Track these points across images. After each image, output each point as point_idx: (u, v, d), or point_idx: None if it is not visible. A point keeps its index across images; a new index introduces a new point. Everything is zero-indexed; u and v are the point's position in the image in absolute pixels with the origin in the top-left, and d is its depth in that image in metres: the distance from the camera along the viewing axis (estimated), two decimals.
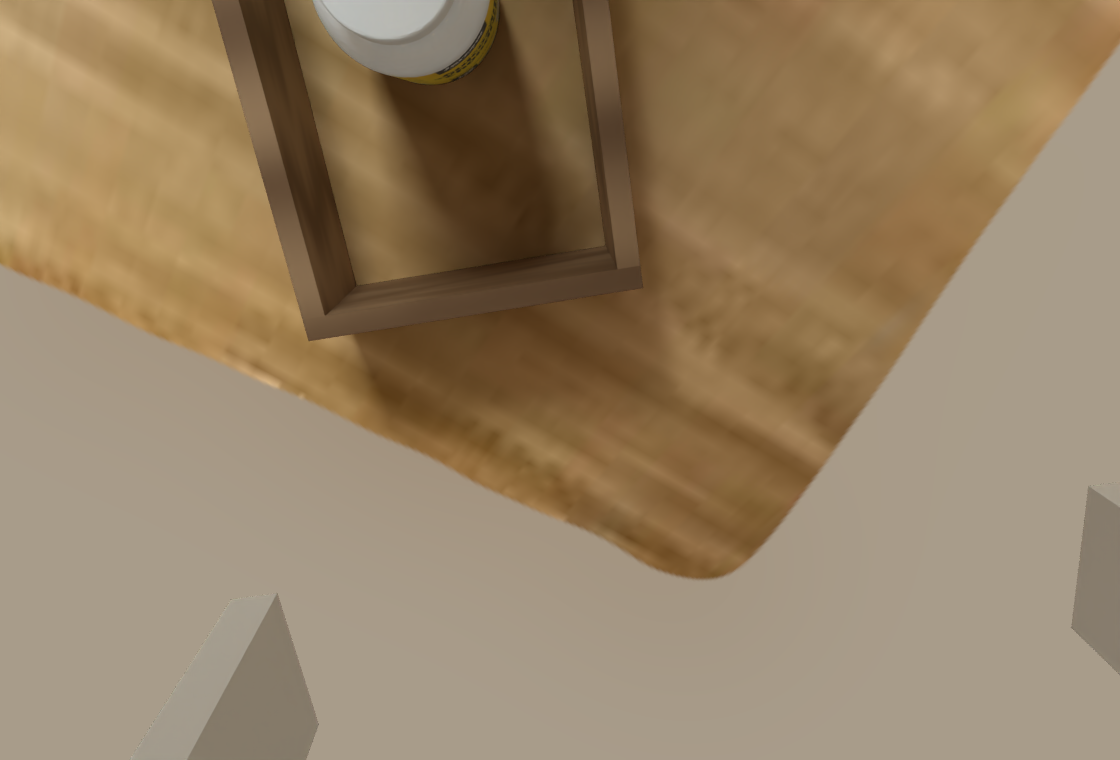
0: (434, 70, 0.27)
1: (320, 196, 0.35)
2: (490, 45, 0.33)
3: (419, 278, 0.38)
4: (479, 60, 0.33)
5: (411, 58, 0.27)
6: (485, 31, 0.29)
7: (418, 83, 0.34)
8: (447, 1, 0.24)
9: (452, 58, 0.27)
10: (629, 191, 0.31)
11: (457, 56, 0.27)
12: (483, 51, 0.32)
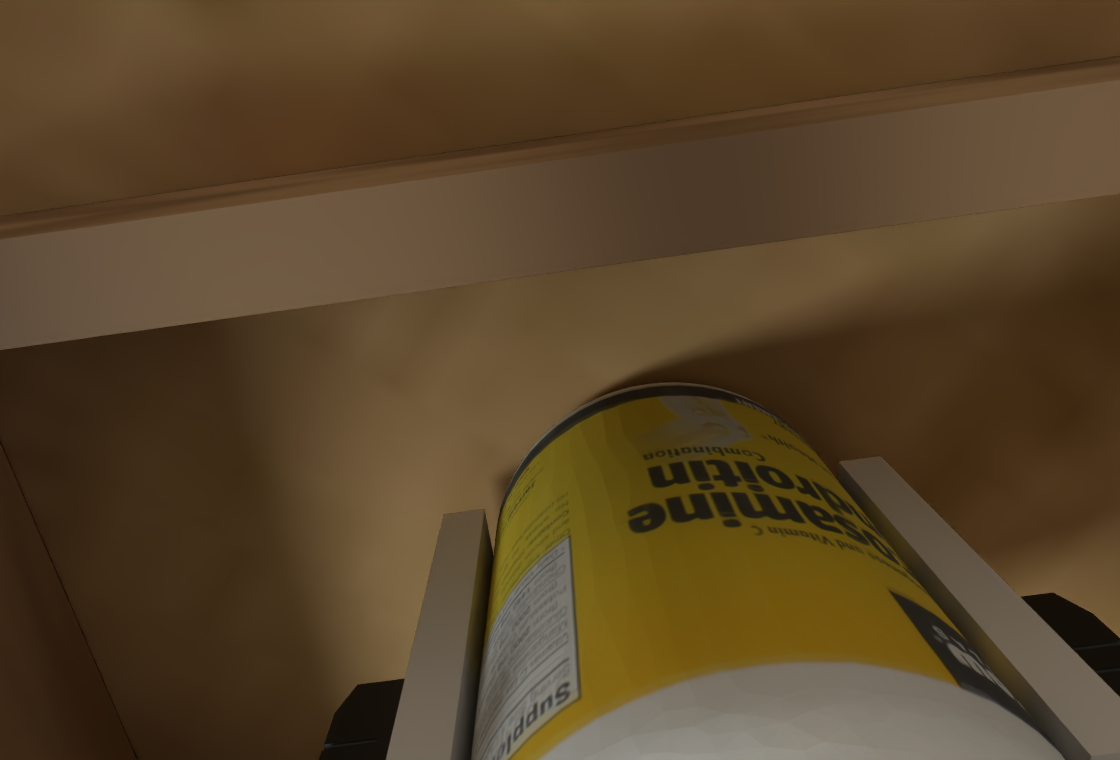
0: None
1: None
2: (777, 422, 0.13)
3: None
4: (820, 460, 0.12)
5: None
6: (888, 575, 0.08)
7: None
8: None
9: None
10: None
11: None
12: (825, 472, 0.11)
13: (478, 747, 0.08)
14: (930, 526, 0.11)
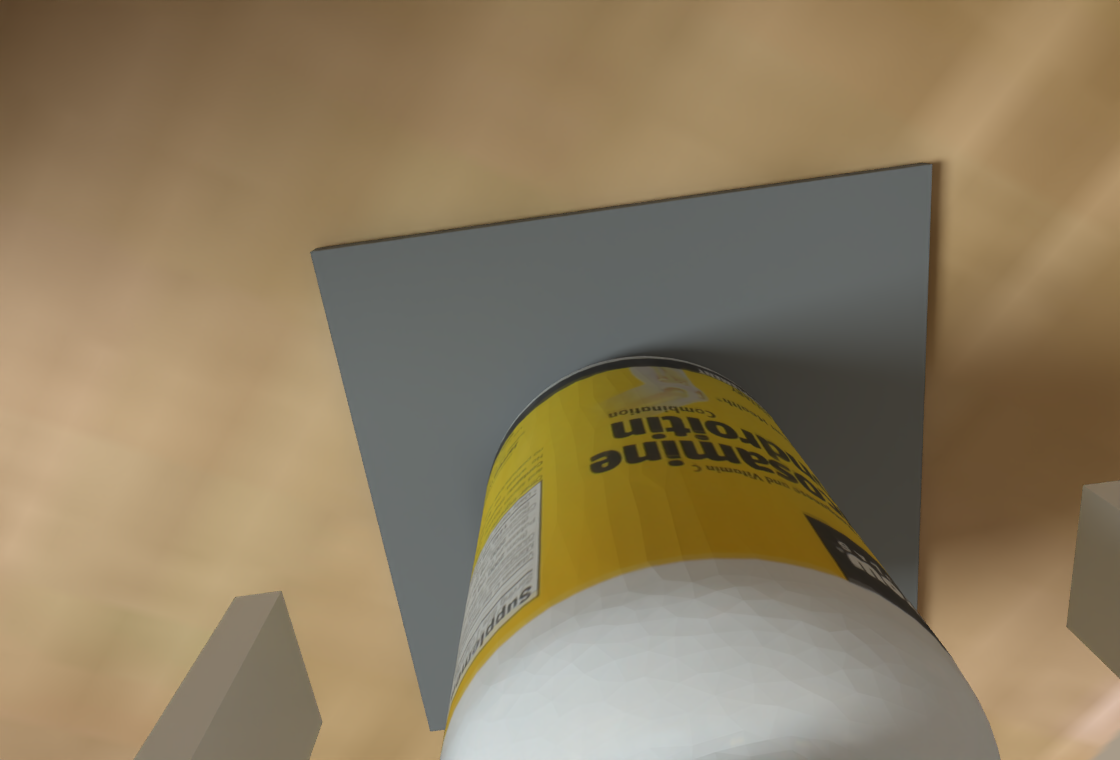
0: None
1: None
2: (735, 390, 0.14)
3: None
4: (773, 422, 0.14)
5: None
6: (808, 504, 0.10)
7: None
8: None
9: (981, 710, 0.08)
10: None
11: (966, 684, 0.08)
12: (773, 431, 0.13)
13: (460, 652, 0.10)
14: None
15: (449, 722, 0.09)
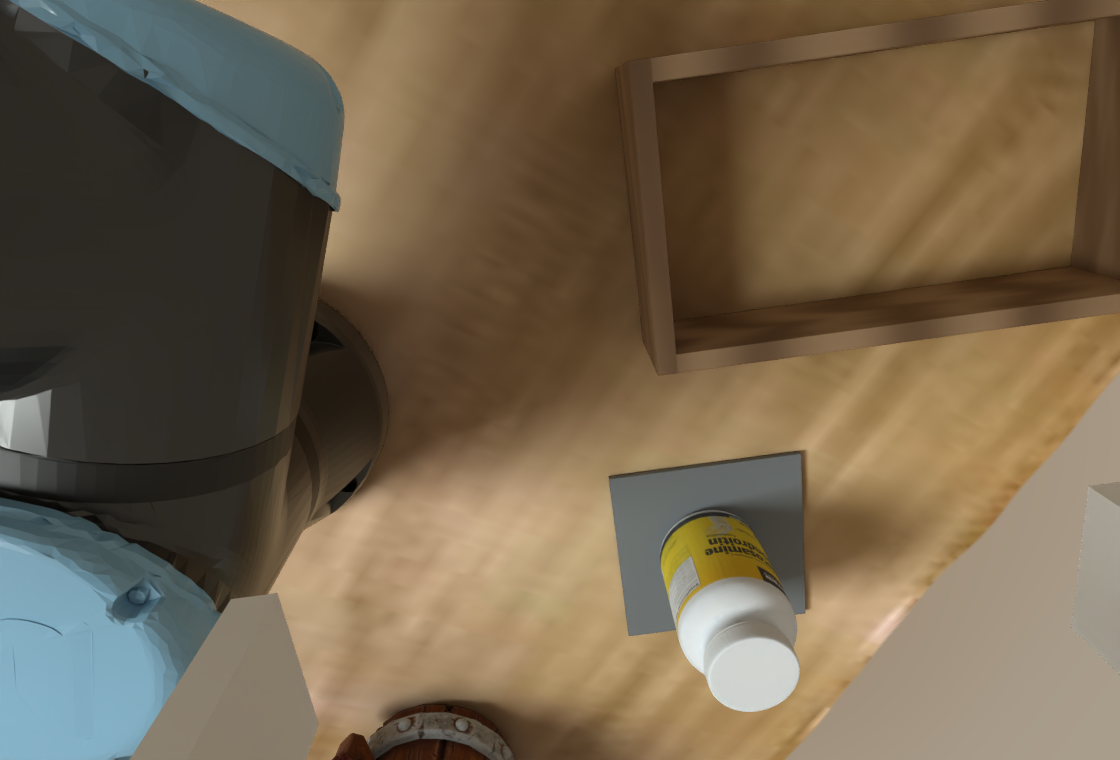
0: None
1: (1009, 285, 0.41)
2: (740, 522, 0.46)
3: (1085, 207, 0.41)
4: (752, 533, 0.46)
5: (791, 635, 0.40)
6: (758, 563, 0.42)
7: None
8: (780, 641, 0.37)
9: (790, 606, 0.40)
10: None
11: (787, 601, 0.40)
12: (751, 538, 0.45)
13: (677, 598, 0.42)
14: None
15: (682, 611, 0.41)
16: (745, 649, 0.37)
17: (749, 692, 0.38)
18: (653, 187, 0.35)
